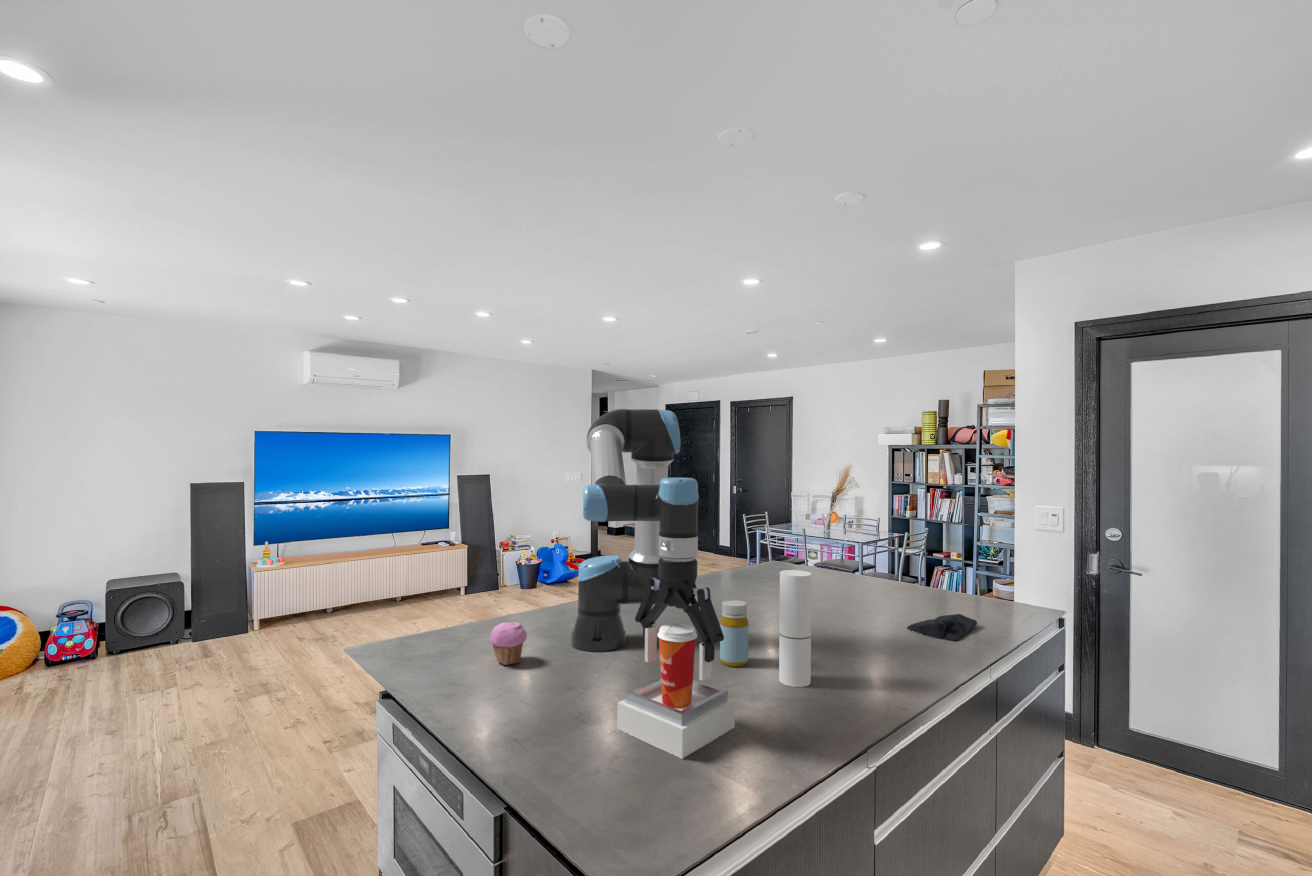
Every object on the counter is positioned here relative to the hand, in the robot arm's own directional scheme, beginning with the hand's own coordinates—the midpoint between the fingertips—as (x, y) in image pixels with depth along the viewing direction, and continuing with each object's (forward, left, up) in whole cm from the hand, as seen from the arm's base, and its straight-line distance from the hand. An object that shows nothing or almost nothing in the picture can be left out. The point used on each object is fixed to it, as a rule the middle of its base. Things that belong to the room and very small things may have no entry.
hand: (676, 668), depth 114 cm
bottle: (-12, +37, -12) cm, 41 cm away
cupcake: (-53, -2, -12) cm, 54 cm away
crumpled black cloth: (+18, +105, -12) cm, 108 cm away
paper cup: (0, 0, -6) cm, 6 cm away
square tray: (0, 0, -11) cm, 11 cm away
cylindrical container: (+5, +37, -12) cm, 39 cm away
